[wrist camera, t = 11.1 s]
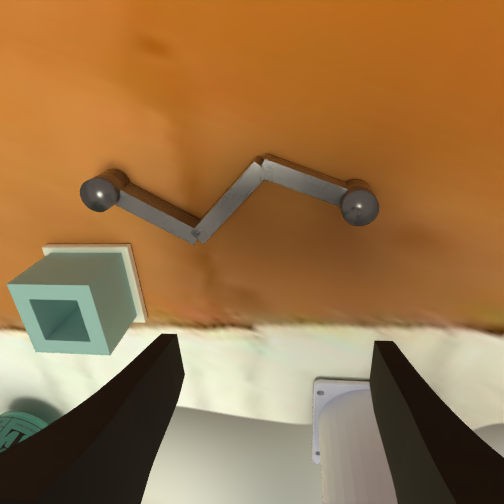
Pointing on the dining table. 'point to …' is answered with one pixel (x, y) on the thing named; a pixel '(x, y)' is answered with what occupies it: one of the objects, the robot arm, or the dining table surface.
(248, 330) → the dining table surface
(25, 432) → the beverage bottle
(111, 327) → the hollow square tube
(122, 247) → the coaster
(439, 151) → the dining table surface
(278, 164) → the grey zigzag bar
